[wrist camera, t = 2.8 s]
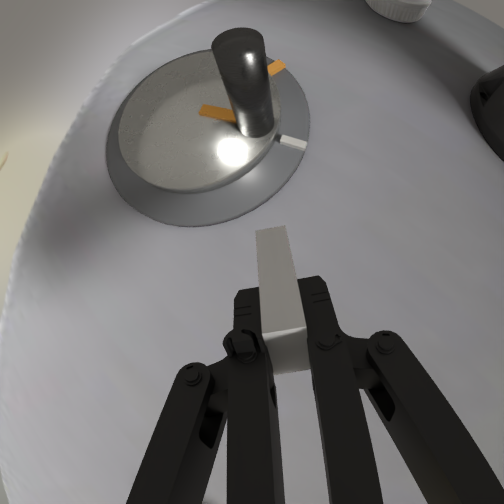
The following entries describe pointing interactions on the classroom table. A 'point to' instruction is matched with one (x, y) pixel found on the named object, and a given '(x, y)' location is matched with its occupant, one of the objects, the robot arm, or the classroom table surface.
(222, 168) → the dial
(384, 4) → the ramekin
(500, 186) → the classroom table surface
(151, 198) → the base plate
